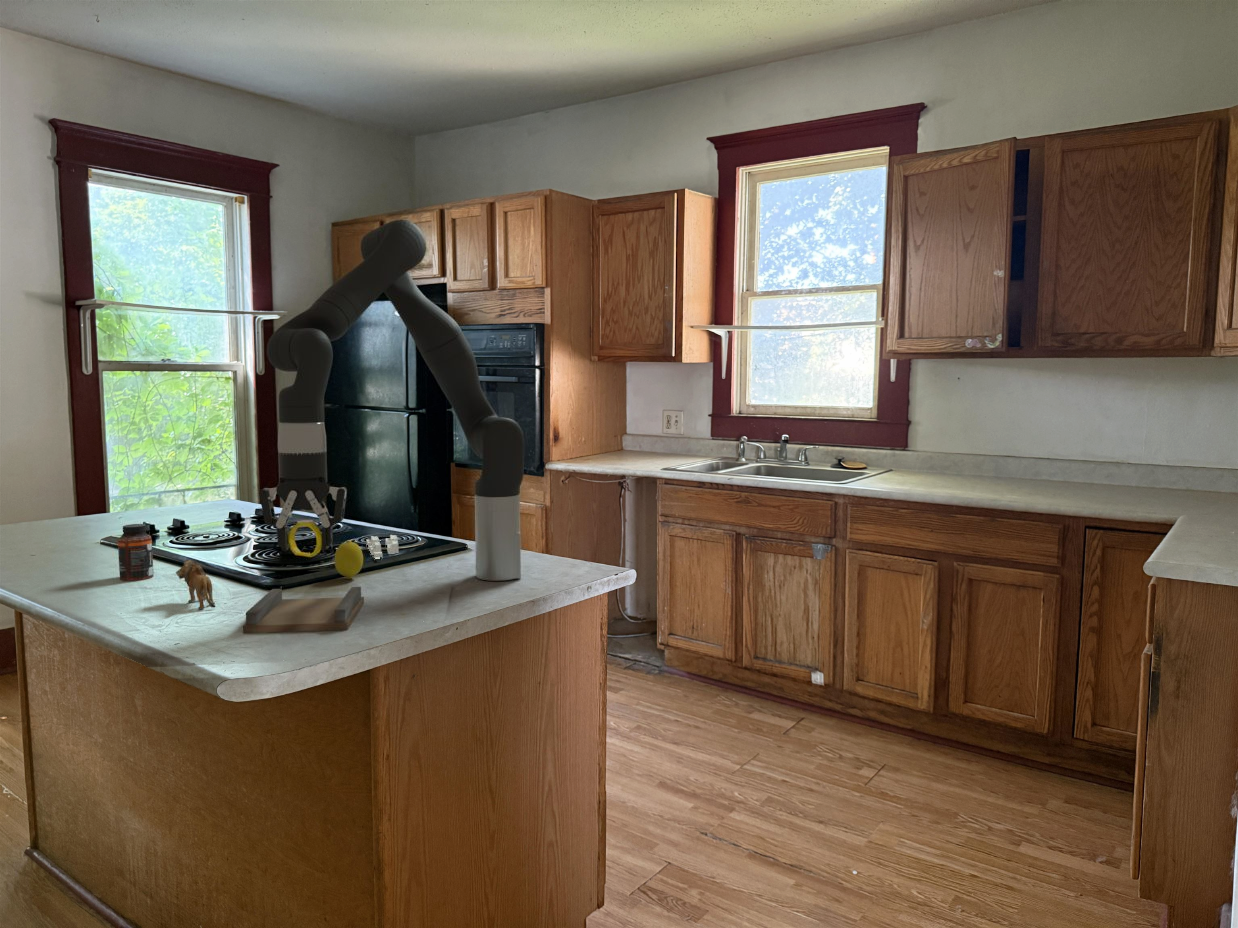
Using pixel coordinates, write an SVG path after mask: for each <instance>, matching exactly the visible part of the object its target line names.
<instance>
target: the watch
mask: <svg viewBox="0 0 1238 928" xmlns="http://www.w3.org/2000/svg"><path fill="white" fill-rule="evenodd" d="M299 527H304V528H306V527H308V528H310V529H311V530H312V531H313V533H314V535H315V537H316V546H315V548H314V549H313V552H311V553H310V552H304V551H301V550H300V549H299V548H298V546H297V543H296V540H295V539H296V532H297V530H298V529H299ZM288 543H289V549H290V551H292V553H293V554H294V555H295V556H300V557H308V558H313V557H315V556H317V555H319V553H320V552H321V550H322V530H320V528H319V526H317V525H316V523H315V520H311V519H302V520H297V521H296V524H294V525H292V527H291V528H290V529H289V535H288Z"/></svg>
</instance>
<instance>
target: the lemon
mask: <svg viewBox="0 0 1238 928" xmlns="http://www.w3.org/2000/svg"><path fill="white" fill-rule="evenodd" d="M363 564H364V555H363V551H362V548H361V546H359V545H358V544H357V543H355V542H352V541H351V540H349V539H348V540H346V541H345V542H342V543H341V544H340V545H339V546H337V549H336V551H335V553H334V566H335V569H336V571H337V572H338V574H339V575H341V576H344V577H345V578H347V579H348V580H351V579H352V578H353V577H354V576H356V575H357V574H359V573H360V571H361V570H362V568H363Z"/></svg>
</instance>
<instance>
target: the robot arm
mask: <svg viewBox="0 0 1238 928" xmlns="http://www.w3.org/2000/svg"><path fill="white" fill-rule="evenodd" d="M360 253H361V257H362V260H363V261H362V262H361V263H359V264H358V265H357V266H356V267H354V268H352V270H350V271H349V272H347V273H346V274H344V275H343V276H342V277H341V278H339V279H338V280H336V281H335V282H334V283H333V284H332V285H330V287H328V288H327V289H326V290H325V291H324V292H323V293H322V294H321V295H320V296H319V297H318V298H317V299H316V300H315V301H314V302H313V303H312V305H311V306H310V307H309V308H307V309H305V311H303V312H300V313H299V314H297V315H296V316H294V317H293V318H291V319H290V320H287V321H286V322H285V323H283V324H282V325H281V326H280V327H278V328H277V329H276V331H274V332H273V334H272V335H271V336H270V337H269V339H268V342H267V346H266V355H267V359H268V360H269V363H270V364H271V365H272V366H273V367H274V368H275V369H277V370H279V371H283V372H286V373H287V372H288V373H289V372H290V373H291V372H292V373H293V372H296V374H295V379H294V382H293V384H292V385H289V386H287V387H284V388H282V389H281V390H280V391H279V393H278V422H279V423H278V433H277V434H278V435H277V452H278V484H277V485H276V487H272V488H268V487H264V488H263V489H260V491H259V493H258V494H259V500H260V506H261V510H262V515H263V521H264V524H265V525H267V526H273V527H274V528H276V531H277V533H276V537H277V538H276V539H277V546H278V548H281V551H282V552H283V551H288V550H289V549H290V546H289V543H288V535H289V531H290V529H289V526H288V522H289V521H290V518H291V516H292V514H293V512H295V511H296V512H297V511H302V510H305V511H314V514H315V515H316V517H317V518H318V519H319V521H320V524H321V525H322V527H321V533H322V548H321V550H328V549H329V548H330V547H331V546H332V545H333V542H334V541H333V540H334V539H333V526H335V525H337V524H340V523H342V521H344V517H345V508H346V502H347V494H348V488H347V487H345V486H342V487H335V486H331V485H330V483H329V482H328V465H327V461H328V460H327V457H328V456H327V433H326V428H325V427H326V426H325V411H324V410H325V409H324V407H325V406H324V404H325V403H324V397H325V393H326V390H327V386H328V381H329V378H330V374H331V369H332V366H333V360H334V358H333V357H334V352H333V346H332V342H333V341H337V340H339V339H340V338H342V337H343V336H344V335H345V334H346V333H347V332H348V331H349V330H350V328H351V327H352V326H353V325H354V324H355V323H356V322H357V321H358V320H359V318H360V317H361V316H362V315H363V313H365V311H366V310H367V309H369V308H370V306H371V305H372V304H373V303H374V302H375V301H376V300H377V299H378V297H380V296H381V295H382V294H383V293H384V294H385V296H386V297H387V298H388V300H389V302H390V303H391V305H392V306H393V307H394V309H395V310H396V313H397V314H398V315H399V317H400V319H401V321H402V322H403V324H404V326H405V327H406V329H407V331H408V332H409V334H410V336H411V337H412V339H413V341H414V343H415V345H416V347H417V349H418V351H419V353H420V354H421V356H422V358H423V360H424V362H425V364H426V365H427V367H428V369H429V370H430V372H431V373H432V375H433V377H434V379H435V381H436V382H437V384H438V386H439V387H440V389H441V391H442V392H443V394H444V396H445V397H446V399H447V401H448V402H449V404H450V406H451V407H452V409H453V411H454V413H455V416H456V417H457V420H458V422H459V424H460V427H461V429H462V432H463V434H464V435H465V438H466V440H467V442H468V445H469V448H470V449H471V450H472V451H473V453H474V454H475V455H476V456H477V457H479V458H480V459H481V460H482V463H481V466H482V467H481V473H480V475H479V478H478V479H477V480H476V481H475V483H474V510H475V511H474V518H475V519H474V522H475V524H474V525H475V528H474V529H475V530H474V531H475V577H476V578H477V579H478V580H485V581H492V582H493V581H496V582H497V581H509V580H516V579H521V578H522V573H521V572H522V570H521V569H522V566H521V565H522V564H521V563H522V562H521V561H522V560H521V559H522V558H521V557H522V556H521V555H522V553H521V551H522V549H521V545H522V544H521V536H522V535H521V505H520V504H521V494H520V493H521V492H520V491H521V485H522V482H523V481H524V480H523V479H524V475H525V474H524V472H525V471H524V470H525V438H524V437H525V436H524V431H523V429H522V427H521V426H520V424H519V423H518V422H517V421H515V420H514V419H512V418H509V417H502V416H501V417H500V416H499V415H498V414H497V413H496V412H495V410H494V409H493V408H492V406H491V404H490V402H489V400H488V399H487V397H486V395H485V393H484V391H483V389H482V386H481V380H480V376H479V371H478V365H477V361H476V357H475V354H474V352H473V350H472V347H471V345H470V343H469V342H468V340H467V338H466V336H465V334H464V333H463V331H462V329H461V327H460V326H459V324H458V322H457V321H455V319H453V318H452V317H451V316H450V315H449V313H447V312H445V311H444V310H443V309H442V308H440V307H439V306H438V305H436V304H435V303H434V302H433V301H431V300H430V299H429V298H427V297H426V295H424V294H423V292H422V291H421V290H420V289H419V288H418V286H417V285H416V282H415V281H414V280H413V278H412V276H411V275H410V274H411V273H409V271H411V270H412V269H415V268H416V267H417V266H418V265H419V264H420V263H421V262H422V261H423V260H424V258H425V256H426V253H427V243H426V238H425V236H424V234H423V232H422V230H421V229H420V228H419V227H418V226H417V225H416V224H415V223H414V222H412V221H411V220H408V219H402V218H401V219H395V220H392V221H389V222H386V223H385V224H383V225H381V226H378V227H376V228H374V229H373V230H370V231H369V232H367V233H366V234H364V235H363V237H362V238H361V241H360ZM329 494H331V497H332V500H334V501H335V505H334V512H333V516H331V515H330V514H329V510H328V508H327V506H326V503H325V502H324V500H326V498H327V497H328V495H329ZM276 495H278V496H279V498H281V500H282V501H283V502H284V504H283V507H282V509H281V511H280V514H279V516H278V517H276V512H275V507H274V502H273V501H274V500H276V497H277V496H276Z"/></svg>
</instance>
